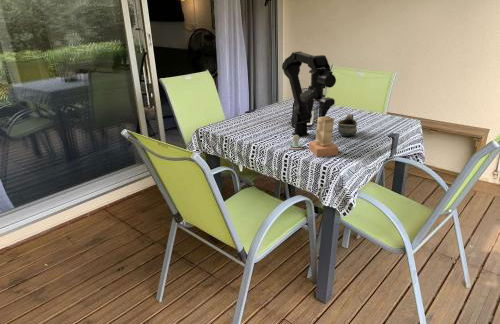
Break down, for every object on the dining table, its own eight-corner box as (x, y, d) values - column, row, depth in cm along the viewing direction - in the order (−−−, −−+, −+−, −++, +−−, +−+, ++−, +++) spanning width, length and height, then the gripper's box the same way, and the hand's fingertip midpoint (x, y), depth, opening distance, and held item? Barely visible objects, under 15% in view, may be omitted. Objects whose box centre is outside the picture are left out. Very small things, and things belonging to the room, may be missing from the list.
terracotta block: (308, 149, 172) (309, 141, 170) (329, 147, 173) (329, 139, 172) (316, 157, 163) (316, 149, 161) (337, 155, 164) (338, 147, 163)
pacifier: (303, 151, 170) (304, 146, 176) (303, 138, 168) (304, 133, 173) (287, 150, 172) (288, 145, 177) (287, 137, 169) (289, 133, 174)
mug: (336, 137, 185) (337, 118, 181) (338, 130, 196) (339, 111, 192) (355, 139, 182) (357, 119, 178) (356, 131, 193) (358, 112, 189)
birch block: (315, 142, 168) (317, 117, 163) (323, 141, 170) (326, 116, 166) (322, 146, 163) (325, 119, 159) (331, 144, 166) (334, 118, 162)
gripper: (290, 83, 172) (290, 115, 178) (316, 89, 157) (315, 124, 163) (309, 80, 177) (308, 111, 183) (336, 86, 162) (334, 120, 168)
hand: (315, 116), depth 174 cm, fingers open, 9 cm apart
